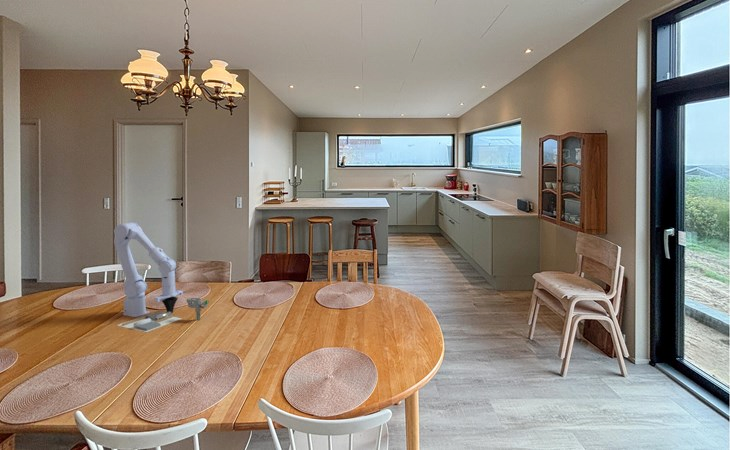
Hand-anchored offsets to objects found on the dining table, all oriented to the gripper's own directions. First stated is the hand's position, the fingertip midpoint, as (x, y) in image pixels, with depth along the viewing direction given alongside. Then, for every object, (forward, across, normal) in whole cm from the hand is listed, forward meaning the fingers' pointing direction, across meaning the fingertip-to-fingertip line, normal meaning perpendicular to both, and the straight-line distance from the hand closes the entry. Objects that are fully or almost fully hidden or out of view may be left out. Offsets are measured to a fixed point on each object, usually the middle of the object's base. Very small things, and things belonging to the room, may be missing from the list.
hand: (170, 312), depth 207 cm
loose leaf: (+1, -6, +1) cm, 6 cm away
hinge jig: (+1, -12, -1) cm, 12 cm away
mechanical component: (+1, 0, -18) cm, 18 cm away
